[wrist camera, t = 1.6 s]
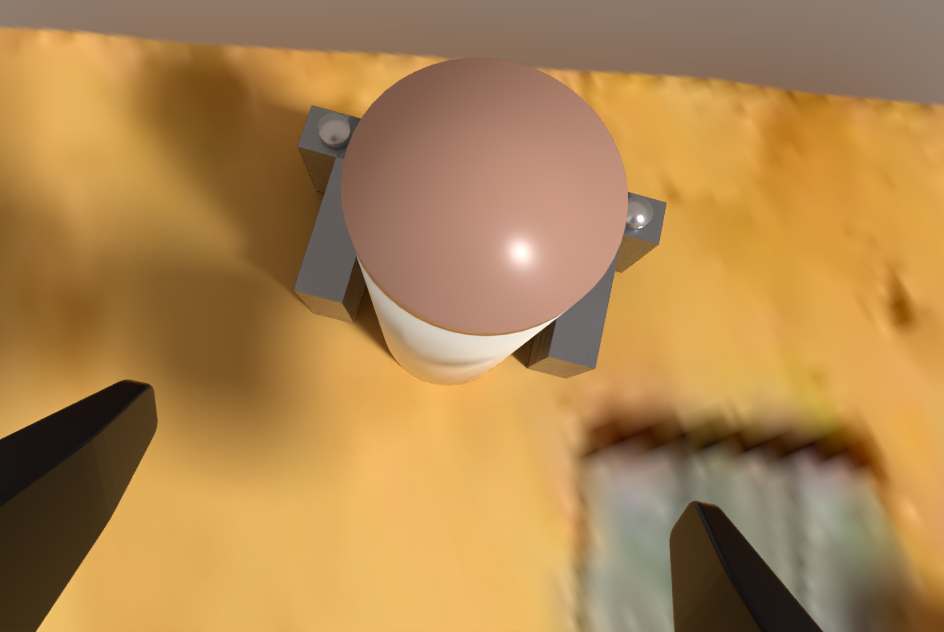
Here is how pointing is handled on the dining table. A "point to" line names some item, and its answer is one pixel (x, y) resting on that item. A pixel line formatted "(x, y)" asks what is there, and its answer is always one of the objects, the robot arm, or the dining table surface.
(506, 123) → the mushroom
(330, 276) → the bracket
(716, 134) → the dining table surface
